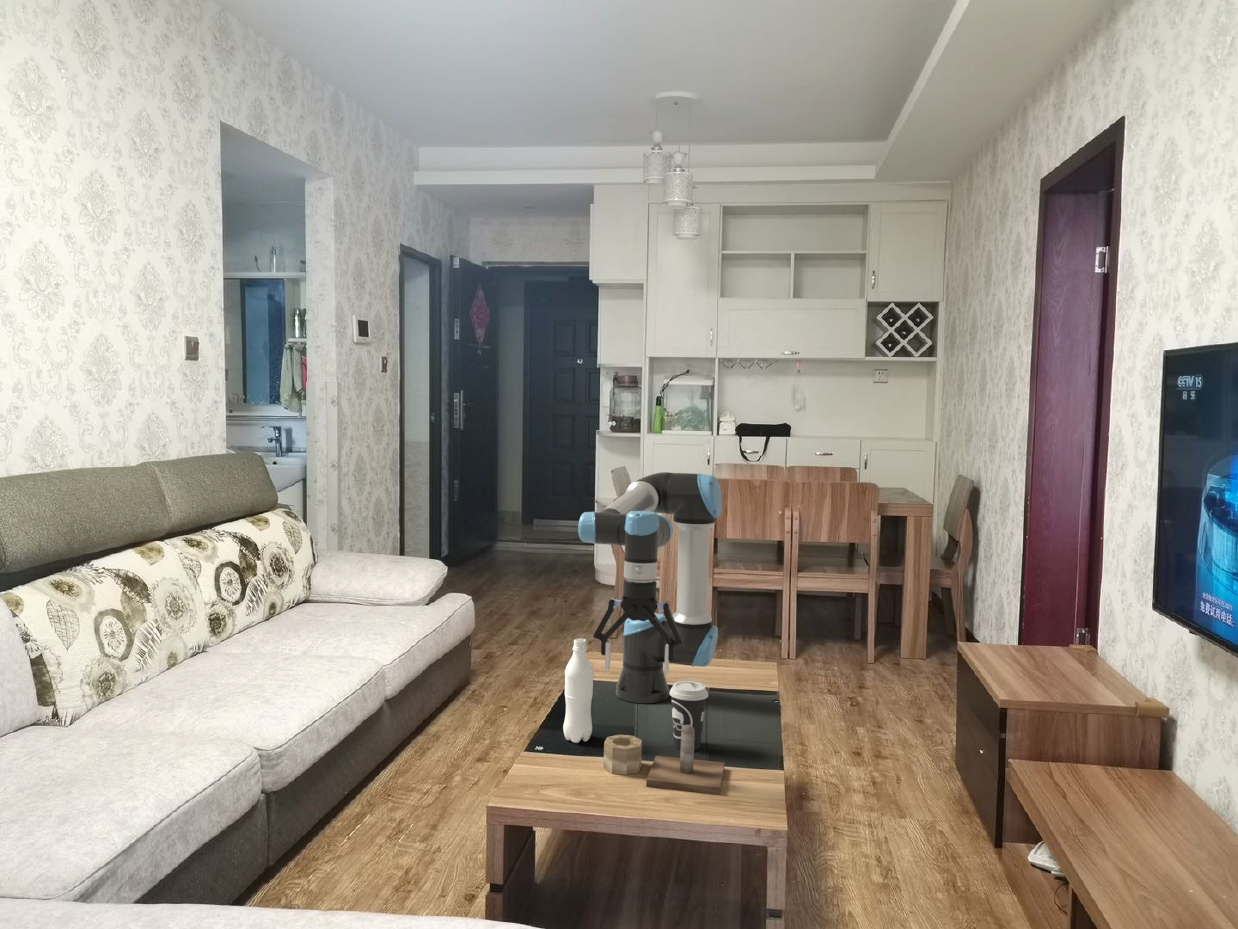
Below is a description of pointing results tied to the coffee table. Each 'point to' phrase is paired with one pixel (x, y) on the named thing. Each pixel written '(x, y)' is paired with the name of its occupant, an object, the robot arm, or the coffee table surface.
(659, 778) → the post base
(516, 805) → the coffee table surface
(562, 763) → the coffee table surface
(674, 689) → the coffee cup
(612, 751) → the collar
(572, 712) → the water bottle
